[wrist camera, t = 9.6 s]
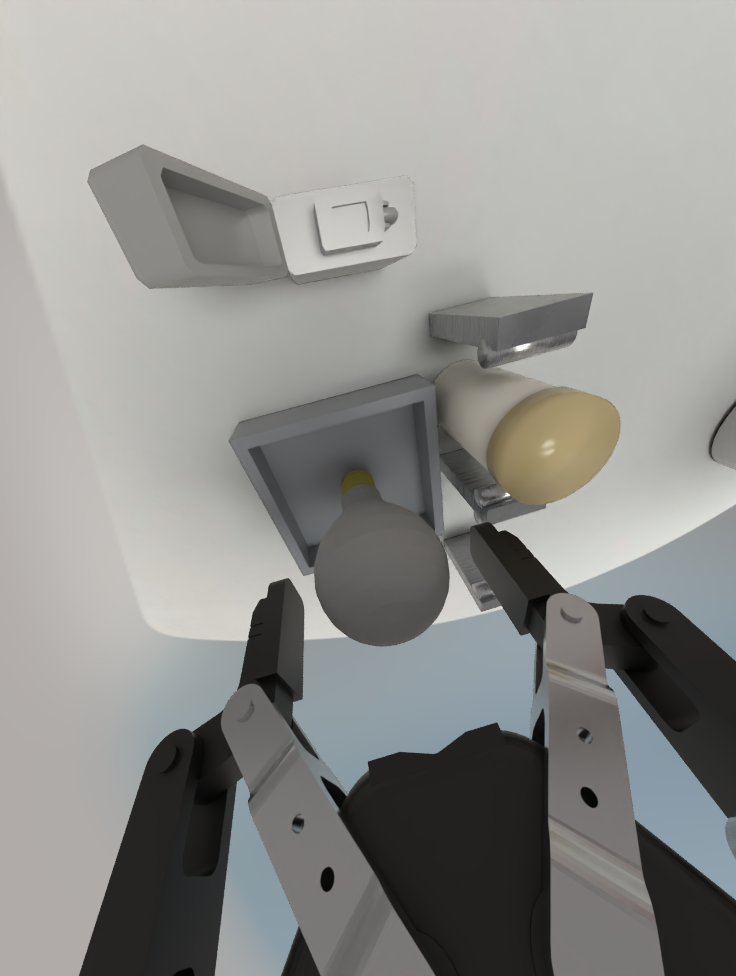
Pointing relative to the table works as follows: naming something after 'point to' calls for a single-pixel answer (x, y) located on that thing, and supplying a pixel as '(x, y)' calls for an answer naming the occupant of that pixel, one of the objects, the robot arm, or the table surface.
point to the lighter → (247, 225)
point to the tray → (344, 458)
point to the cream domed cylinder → (526, 429)
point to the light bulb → (379, 568)
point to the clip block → (500, 339)
